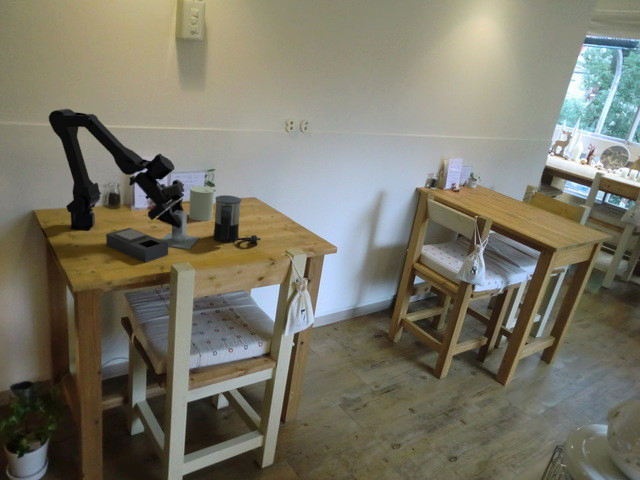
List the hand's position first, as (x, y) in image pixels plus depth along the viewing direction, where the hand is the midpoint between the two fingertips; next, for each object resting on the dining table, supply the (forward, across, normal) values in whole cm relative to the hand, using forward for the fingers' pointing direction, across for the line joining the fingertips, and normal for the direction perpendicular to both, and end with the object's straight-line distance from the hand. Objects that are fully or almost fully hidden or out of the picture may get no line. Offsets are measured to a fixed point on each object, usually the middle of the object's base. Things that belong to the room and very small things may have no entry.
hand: (183, 224), depth 165 cm
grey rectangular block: (+3, 0, +5) cm, 6 cm away
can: (+3, +28, +6) cm, 28 cm away
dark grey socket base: (-3, -12, +12) cm, 17 cm away
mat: (+4, 0, +6) cm, 7 cm away
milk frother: (+16, +9, -7) cm, 20 cm away
